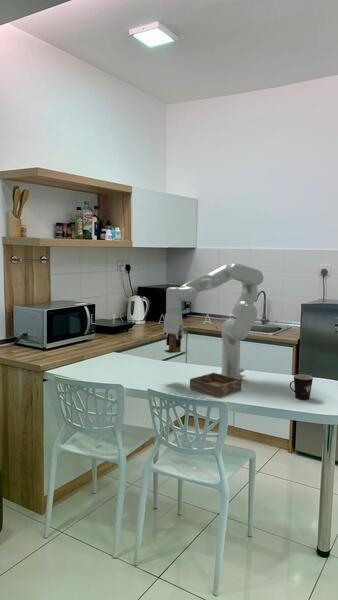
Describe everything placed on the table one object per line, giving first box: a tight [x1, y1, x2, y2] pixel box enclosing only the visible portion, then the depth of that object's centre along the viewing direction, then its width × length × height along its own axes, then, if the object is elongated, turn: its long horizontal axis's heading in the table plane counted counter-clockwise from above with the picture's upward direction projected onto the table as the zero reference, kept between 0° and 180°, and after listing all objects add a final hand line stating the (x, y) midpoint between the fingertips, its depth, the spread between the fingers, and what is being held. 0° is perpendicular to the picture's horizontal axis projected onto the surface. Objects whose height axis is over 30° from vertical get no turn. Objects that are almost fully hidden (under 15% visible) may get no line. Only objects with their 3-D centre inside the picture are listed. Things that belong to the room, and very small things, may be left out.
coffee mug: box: [289, 373, 314, 401], centre depth 213 cm, size 12×9×10 cm
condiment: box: [162, 334, 184, 354], centre depth 235 cm, size 7×8×12 cm
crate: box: [189, 372, 243, 398], centre depth 225 cm, size 18×18×5 cm
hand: (173, 345), depth 235 cm, fingers closed on condiment, 6 cm apart
